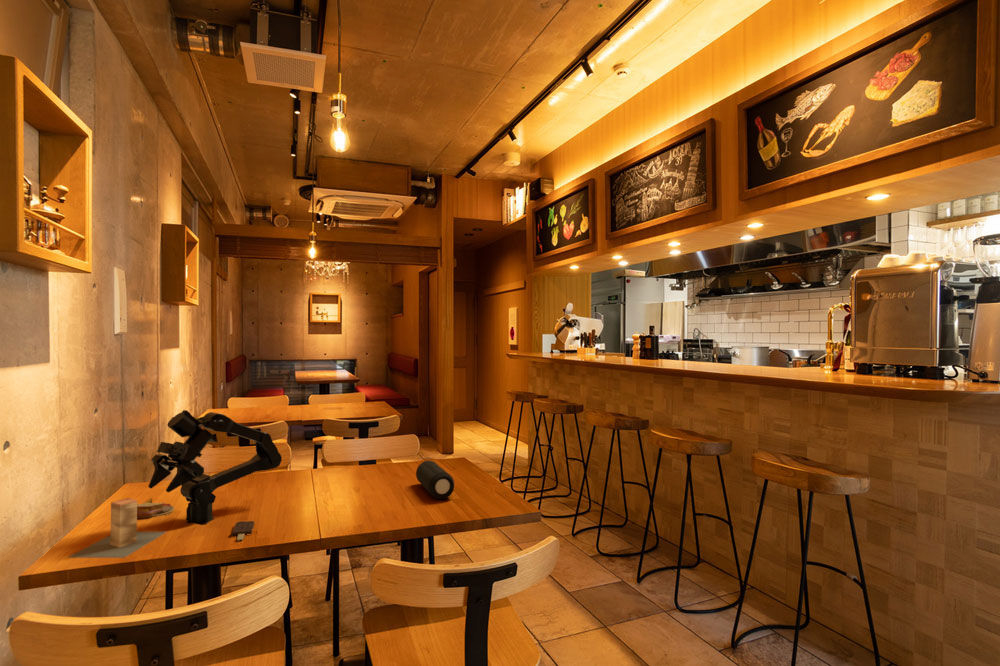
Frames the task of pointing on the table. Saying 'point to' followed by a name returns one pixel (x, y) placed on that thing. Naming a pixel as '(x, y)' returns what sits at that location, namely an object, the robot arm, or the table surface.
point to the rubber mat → (109, 551)
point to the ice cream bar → (242, 529)
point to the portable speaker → (435, 479)
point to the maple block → (123, 522)
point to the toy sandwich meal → (153, 509)
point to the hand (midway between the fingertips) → (158, 489)
